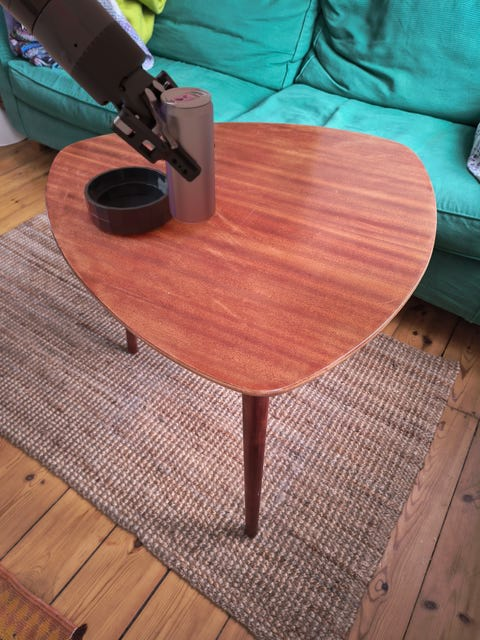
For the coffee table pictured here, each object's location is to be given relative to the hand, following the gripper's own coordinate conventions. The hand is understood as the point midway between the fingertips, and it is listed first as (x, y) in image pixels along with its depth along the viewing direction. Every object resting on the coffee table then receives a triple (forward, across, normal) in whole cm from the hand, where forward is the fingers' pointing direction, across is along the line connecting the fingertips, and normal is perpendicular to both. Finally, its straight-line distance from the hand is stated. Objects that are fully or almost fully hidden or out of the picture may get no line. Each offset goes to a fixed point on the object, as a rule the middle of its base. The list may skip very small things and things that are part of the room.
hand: (203, 163), depth 56 cm
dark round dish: (+1, +18, +28) cm, 33 cm away
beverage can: (+4, 0, +6) cm, 8 cm away
